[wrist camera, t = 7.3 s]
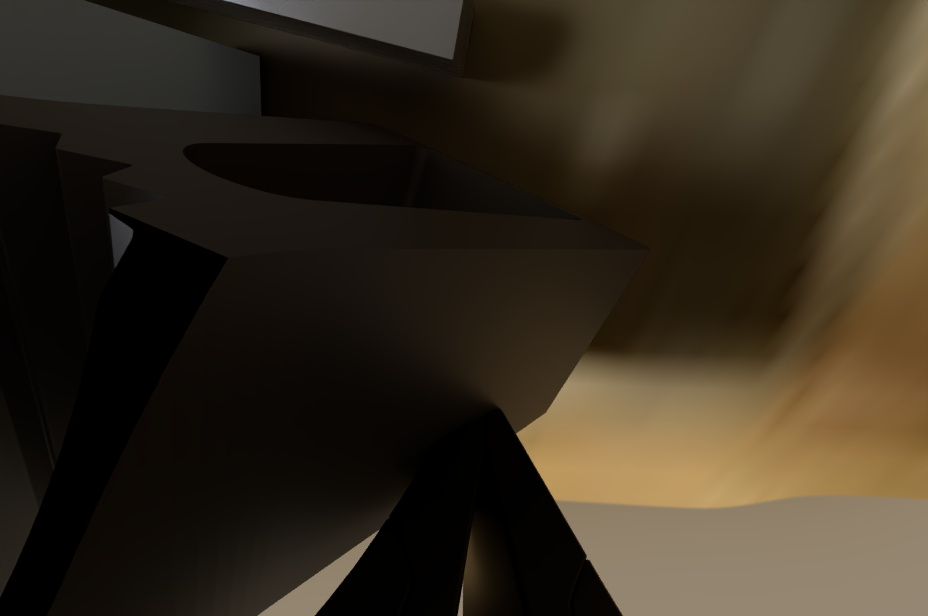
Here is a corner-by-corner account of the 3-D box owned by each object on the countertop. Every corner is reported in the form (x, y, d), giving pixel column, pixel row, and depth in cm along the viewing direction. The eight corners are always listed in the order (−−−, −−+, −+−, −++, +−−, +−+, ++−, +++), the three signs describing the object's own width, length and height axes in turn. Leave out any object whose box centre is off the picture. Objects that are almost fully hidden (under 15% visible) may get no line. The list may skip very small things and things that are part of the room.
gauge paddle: (259, 56, 10) (-253, -107, 3) (273, 466, 18) (136, 678, 11) (208, 43, 10) (-432, -154, 3) (244, 460, 18) (88, 669, 11)
